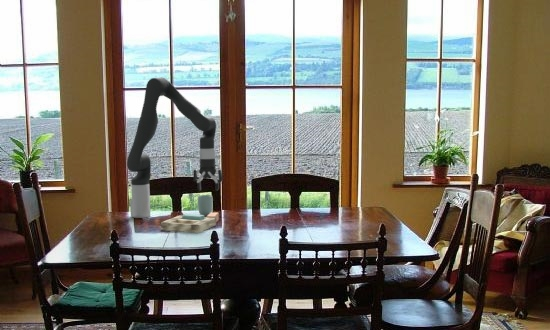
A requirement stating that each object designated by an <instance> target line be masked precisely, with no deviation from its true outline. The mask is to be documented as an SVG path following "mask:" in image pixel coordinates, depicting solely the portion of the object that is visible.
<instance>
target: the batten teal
mask: <svg viewBox="0 0 550 330" xmlns="http://www.w3.org/2000/svg"><path fill="white" fill-rule="evenodd" d="M181 216H182V219H188V220H204V217H205V215H201V214H194V213H185V214H182V215H181Z"/></svg>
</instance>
